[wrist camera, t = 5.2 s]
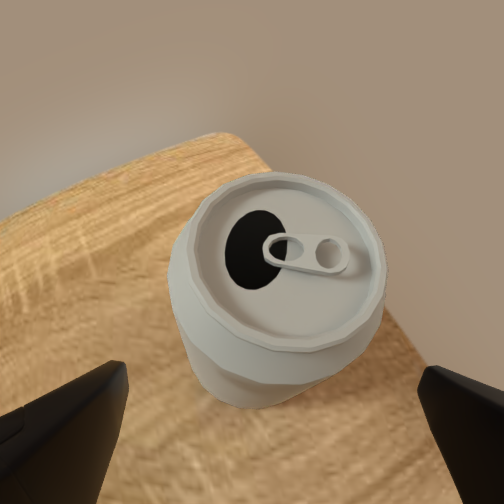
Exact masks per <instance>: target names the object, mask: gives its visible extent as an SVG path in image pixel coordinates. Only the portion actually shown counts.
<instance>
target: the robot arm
mask: <svg viewBox="0 0 504 504" xmlns="http://www.w3.org/2000/svg"><path fill="white" fill-rule="evenodd" d="M128 392H129V384H128V376H127V368H126V364H125V363H124V362H121V361H114V360H110V361H108V362H106V363H105V364H103V365H101V366H99V367H97V368H95V369H93V370H91V371H90V372H88V373H86V374H84V375H82V376H80V377H78V378H76V379H74V380H72V381H71V382H69V383H67V384H65V385H63V386H61V387H59V388H57V389H55V390H53V391H51V392H49V393H47V394H45V395H43V396H41V397H39V398H38V399H36V400H34V401H32V402H30V403H28V404H26V405H24V408H23V407H20V408H18V409H16V410H14V411H12V412H9V413H7V414H5V415H3V416H1V417H0V504H96V502H97V499H98V496H99V493H100V490H101V487H102V484H103V481H104V478H105V475H106V472H107V469H108V466H109V463H110V460H111V457H112V454H113V451H114V448H115V446H116V443H117V440H118V436H119V432H120V428H121V423H122V419H123V414H124V410H125V406H126V401H127V397H128ZM417 393H418V397H419V399H420V402H421V405H422V408H423V410H424V413H425V416H426V419H427V422H428V424H429V427H430V430H431V432H432V434H433V436H434V439H435V441H436V443H437V445H438V447H439V449H440V452H441V454H442V456H443V458H444V460H445V463H446V465H447V467H448V469H449V472H450V474H451V476H452V479H453V481H454V483H455V486H456V488H457V490H458V493H459V495H460V498H461V500H462V502H463V504H504V391H501V390H499V389H496V388H494V387H491V386H488V385H486V384H483V383H481V382H478V381H476V380H473V379H470V378H467V377H465V376H463V375H460V374H458V373H455V372H453V371H450V370H448V369H445V368H443V367H440V366H437V365H436V366H428V367H426V369H425V370H424V372H423V375H422V378H421V380H420V383H419V385H418V389H417Z"/></svg>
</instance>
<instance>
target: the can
mask: <svg viewBox="0 0 504 504" xmlns="http://www.w3.org/2000/svg"><path fill="white" fill-rule="evenodd" d="M387 278H388V265H387V259H386V254H385V249H384V244H383V242H382V240H381V238H380V237H379V234H378V233H377V231H376V229H375V227H374V225H373V223H372V221H371V220H370V219H369V218H368V217H367V215H366V214H365V213H364V212H363V211H362V210H361V209H360V208H359V207H358V206H357V205H356V203H355V202H354V201H353V200H351V199H350V198H348V197H347V196H345V195H344V194H342V193H341V192H339V191H338V190H336V189H335V188H333V187H332V186H330V185H328V184H326V183H323V182H321V181H318V180H315V179H312V178H310V177H307V176H304V175H298V174H291V173H283V172H267V173H257V174H249V175H246V176H243V177H241V178H238V179H235V180H233V181H230V182H228V183H225V184H223V185H222V186H221V187H219V188H218V189H217V190H215V191H214V192H213V193H212V194H210V195H209V196H208V197H207V198H205V199H204V200H203V201H202V202H201V204H200V206H199V207H198V209H197V210H196V212H195V213H194V215H193V217H191V218H190V219H189V220H188V222H187V223H186V225H185V227H184V228H183V230H182V231H181V233H180V235H179V236H178V238H177V239H176V241H175V243H174V244H173V248H172V253H171V258H170V263H169V268H168V273H167V280H168V286H169V292H170V298H171V304H172V309H173V313H174V316H175V319H176V322H177V325H178V328H179V332H180V335H181V338H182V341H183V344H184V347H185V350H186V353H187V356H188V359H189V361H190V364H191V367H192V370H193V372H194V373H195V375H196V376H197V378H198V380H199V381H200V383H201V385H202V386H203V387H204V388H205V389H206V390H207V391H208V392H210V393H211V394H212V395H213V396H214V397H216V398H217V399H218V400H220V401H222V402H225V403H227V404H230V405H232V406H235V407H237V408H248V409H262V408H266V407H269V406H273V405H277V404H280V403H282V402H284V401H286V400H288V399H290V398H292V397H294V396H296V395H298V394H300V393H302V392H304V391H305V390H307V389H309V388H311V387H313V386H315V385H317V384H319V383H320V382H322V381H324V380H326V379H328V378H329V377H331V376H333V375H335V374H337V373H338V372H339V371H341V370H342V369H343V368H344V367H346V366H347V365H348V364H350V363H351V362H352V361H353V360H355V359H356V358H357V357H358V356H360V355H361V354H362V353H363V352H364V351H365V350H366V348H367V346H368V345H369V343H370V341H371V340H372V338H373V336H374V335H375V333H376V331H377V330H378V328H379V326H380V324H381V319H382V314H383V308H384V303H385V297H386V292H385V290H386V284H387Z"/></svg>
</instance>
